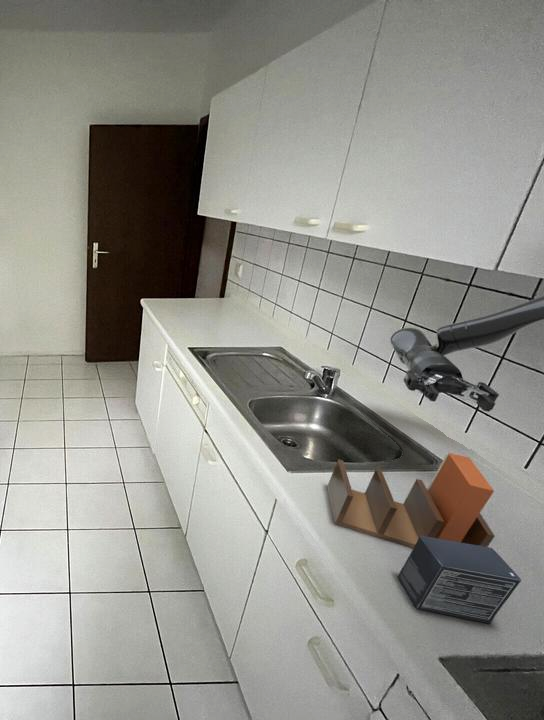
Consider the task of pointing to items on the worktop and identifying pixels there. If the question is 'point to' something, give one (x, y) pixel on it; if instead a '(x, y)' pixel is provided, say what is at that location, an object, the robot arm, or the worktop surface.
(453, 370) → the robot arm
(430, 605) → the small box
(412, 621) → the worktop surface
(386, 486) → the book rack
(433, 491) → the book
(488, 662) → the worktop surface
